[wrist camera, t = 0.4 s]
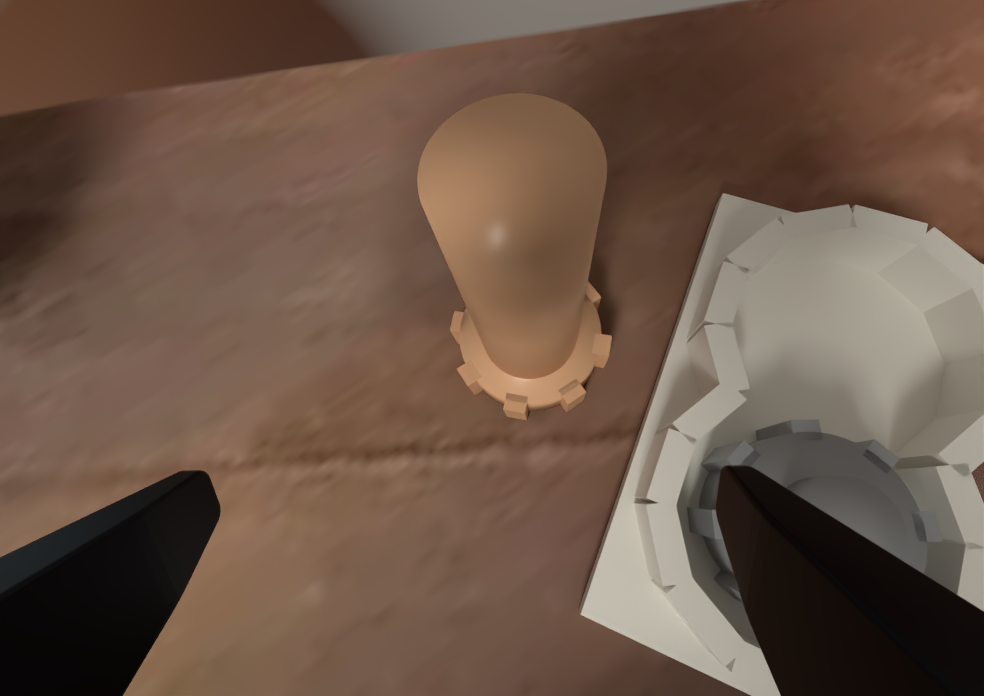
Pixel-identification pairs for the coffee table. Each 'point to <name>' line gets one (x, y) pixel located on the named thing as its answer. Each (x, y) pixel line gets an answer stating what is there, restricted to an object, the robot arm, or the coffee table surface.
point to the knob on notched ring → (520, 245)
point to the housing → (801, 419)
